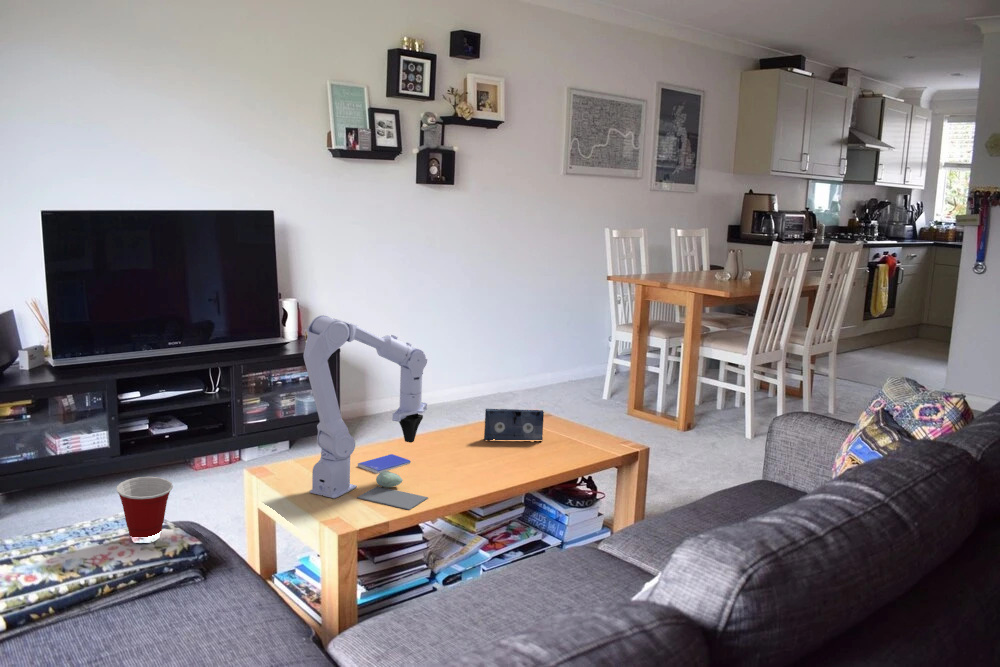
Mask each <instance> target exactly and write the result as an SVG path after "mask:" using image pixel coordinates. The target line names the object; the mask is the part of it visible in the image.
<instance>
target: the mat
mask: <svg viewBox="0 0 1000 667" xmlns="http://www.w3.org/2000/svg"><path fill="white" fill-rule="evenodd" d="M356 499H358V500H359V499H360V500H363V501H367V500H368V502H372V503H377V504H381V505H385V506H390V507H394V508H399V509H401V510H403V509H404V510H406V511H411V510H412V509H414V508H415V507H417V506H418V505H420V504H422V503H423V502H425V501H426V500H428V499H429V497H428V496H424V495H419V494H415V493H410V492H405V491H402V490H397V489H392V488H389V487H381V486H379V485H377V486H375V487H373V488H371V489H369V490H367V491H366V492H363V493H362V494H359V495H358V496H356Z"/></svg>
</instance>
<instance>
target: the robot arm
mask: <svg viewBox="0 0 1000 667" xmlns="http://www.w3.org/2000/svg"><path fill="white" fill-rule="evenodd" d="M306 332H307V333H306V334H307V338H306V343H305V345H304V346H305V347H304V351H303V360H304V364H305V368H306V372H307V376H308V379H309V383H310V388H311V390H312V392H311V393H312V395H313V399H314V403H315V408H316V412H317V415H318V419H319V422H318V423H317V425H316V428H317V435H316V442H317V445H318V446H319V448H320V449H321V452H320V459H319V460H318V461H317V462H316V463H315V464H314V465H313V467H312V477H311V478H312V487H311V489H310V490H309V493H311V494H315V495H319V496H322V495H323V496H322V497H326V498H332V499H337V498H339V497H340V496H343V495H345V494H347V493H349V492H351V491H352V490H355V489H356V488H358V487H357V484H352V483H351V456H352V454H353V453H354V451H355V449H356V441H355V438H354V437H353V436H352V435H351V433H350V431H349V428H348V426H347V424H346V422H345V421H344V420H343V418H342V414H341V411H340V407H339V406H340V405H339V402H338V398H337V395H336V394H337V393H336V389H335V386H334V382H333V379H332V378H333V377H332V374H331V370H330V366H329V362H328V360H329V358H330V357H331V356H332V354H334V353H335V352H336V351H337V350H338V349H339V348H341V347H342V346H343V345H344V344H345V343H346V342H348V343H351V342H353V341H357V342H360V343H362V344H364V345H366V346H369V347H372V348H374V349H375V350H376V353H377V355H378V356H379V357H381V358H384V359H386V360H388V361H390V362H392V363H395V364H396V365H398V366H399V367H400V376H399V378H400V383H399V387H400V388H399V407H398V408H397V409H396V411H394V412H393V413H392V417H391V418H392V422H398V423H399V425H400V427H401V430H402V434H403V439H404V442H405V443H410V444H412V443H414V442H415V440H416V436H417V432H418V428H419V427H420V424H421V422H422V420H423V419H424V415H423V414H424V413H425V412H426V411H427V410H428V403H427V402H422V395H423V394H422V392H423V374H424V369H425V368H426V366H427V363H428V358H426V355H425V352H424V351H423V350H422V349H419V348H415V347H414V346H412V344H411V343H409V342H404V341H401V340H399V339H398V336H397V335H393V334H391V335H385V336H382V337H381V336H379V335H377V334H375V333H374V332H371V331H369V330H367V329H366V328H363V327H361V326H359V325H357V324H354V323H352V322H347V321H345V320H342V319H337V318H332V317H330V316H328V315H324V314H323V315H318V316H316V317H315V318H314V319H313V320H312V321H311V322H310V323H309V325H308V326H307V328H306Z"/></svg>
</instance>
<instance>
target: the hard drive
mask: <svg viewBox="0 0 1000 667" xmlns="http://www.w3.org/2000/svg"><path fill="white" fill-rule="evenodd" d="M410 463H411V460H409V459H408V458H405V457H402V456H399V455H396V454H392V453H390V454H388V455H383V456H380V457H377V458H373V459H368V460H365V461H362V462H358V463H357V467H358V468H361V469H364V470H366V471H370V472H372V473H375V474H378V475H379V474H380V473H381V472H383V471H392V470H394V469H398V468H400V467H404V466H408V465H410ZM403 465H404V466H403Z"/></svg>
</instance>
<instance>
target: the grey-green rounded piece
mask: <svg viewBox="0 0 1000 667" xmlns="http://www.w3.org/2000/svg"><path fill="white" fill-rule="evenodd" d="M375 481H376V484H377V486H379V487H384V488H394V487H397V486H399V485H400V484H402V483H403V481H404V480H403V478H402V477H401V476H400V475H399V474H397V473H394V472H391V471H390V470H388V471H383V472H381V473H378V475H377V476H376V479H375Z"/></svg>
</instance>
